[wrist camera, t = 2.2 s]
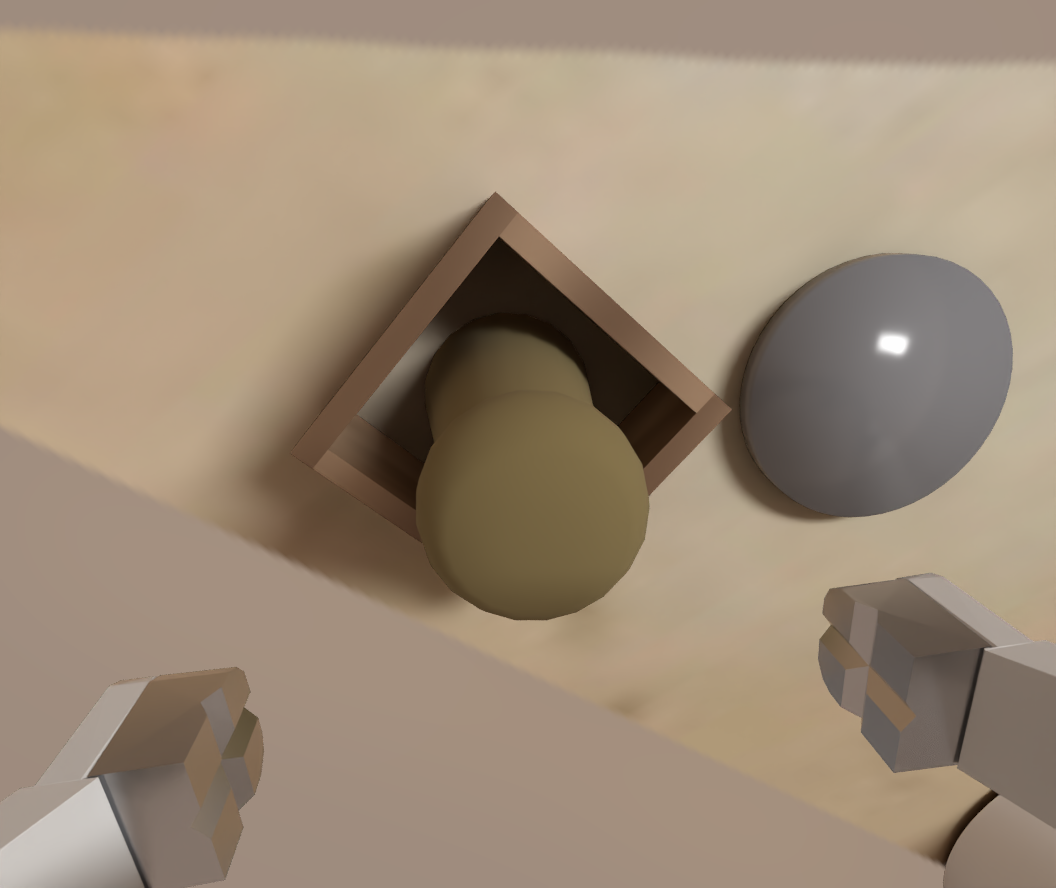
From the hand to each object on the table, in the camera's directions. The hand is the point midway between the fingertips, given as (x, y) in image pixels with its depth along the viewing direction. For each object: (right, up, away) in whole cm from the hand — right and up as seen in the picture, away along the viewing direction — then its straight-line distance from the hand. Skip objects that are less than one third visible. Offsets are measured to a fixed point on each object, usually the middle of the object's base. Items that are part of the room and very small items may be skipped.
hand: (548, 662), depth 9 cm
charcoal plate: (+13, +5, +15) cm, 20 cm away
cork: (-1, +5, +14) cm, 15 cm away
